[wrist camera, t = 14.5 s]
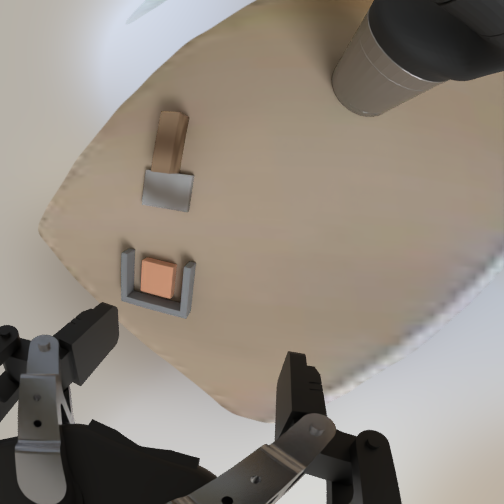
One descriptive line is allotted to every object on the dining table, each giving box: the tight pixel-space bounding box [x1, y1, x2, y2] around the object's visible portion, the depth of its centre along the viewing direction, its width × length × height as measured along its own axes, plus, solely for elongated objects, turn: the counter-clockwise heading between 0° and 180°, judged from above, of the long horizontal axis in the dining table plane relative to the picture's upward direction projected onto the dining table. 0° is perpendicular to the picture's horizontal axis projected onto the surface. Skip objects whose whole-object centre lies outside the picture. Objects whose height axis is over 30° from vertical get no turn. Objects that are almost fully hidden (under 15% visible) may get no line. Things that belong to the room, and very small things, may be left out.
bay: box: [121, 248, 196, 319], centre depth 40 cm, size 8×11×2 cm
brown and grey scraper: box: [142, 111, 194, 212], centre depth 34 cm, size 13×7×4 cm, turn 170°
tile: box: [141, 257, 177, 299], centre depth 40 cm, size 5×5×2 cm
